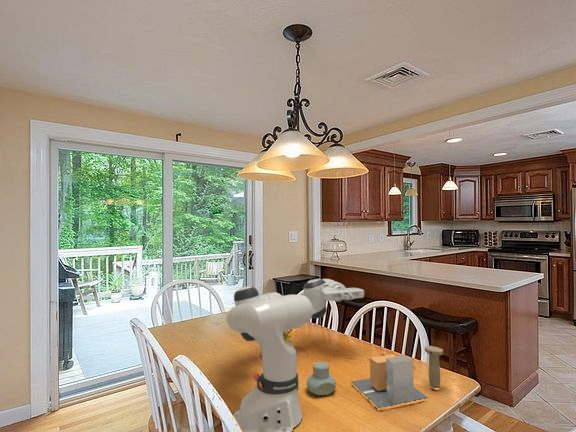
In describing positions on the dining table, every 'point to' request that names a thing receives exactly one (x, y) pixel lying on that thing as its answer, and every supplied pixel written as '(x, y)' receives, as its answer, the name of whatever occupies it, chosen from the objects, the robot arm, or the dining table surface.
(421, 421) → the dining table surface
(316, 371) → the air freshener
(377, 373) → the orange block
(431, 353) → the handle
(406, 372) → the grey block with rod
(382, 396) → the base board
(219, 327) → the dining table surface
